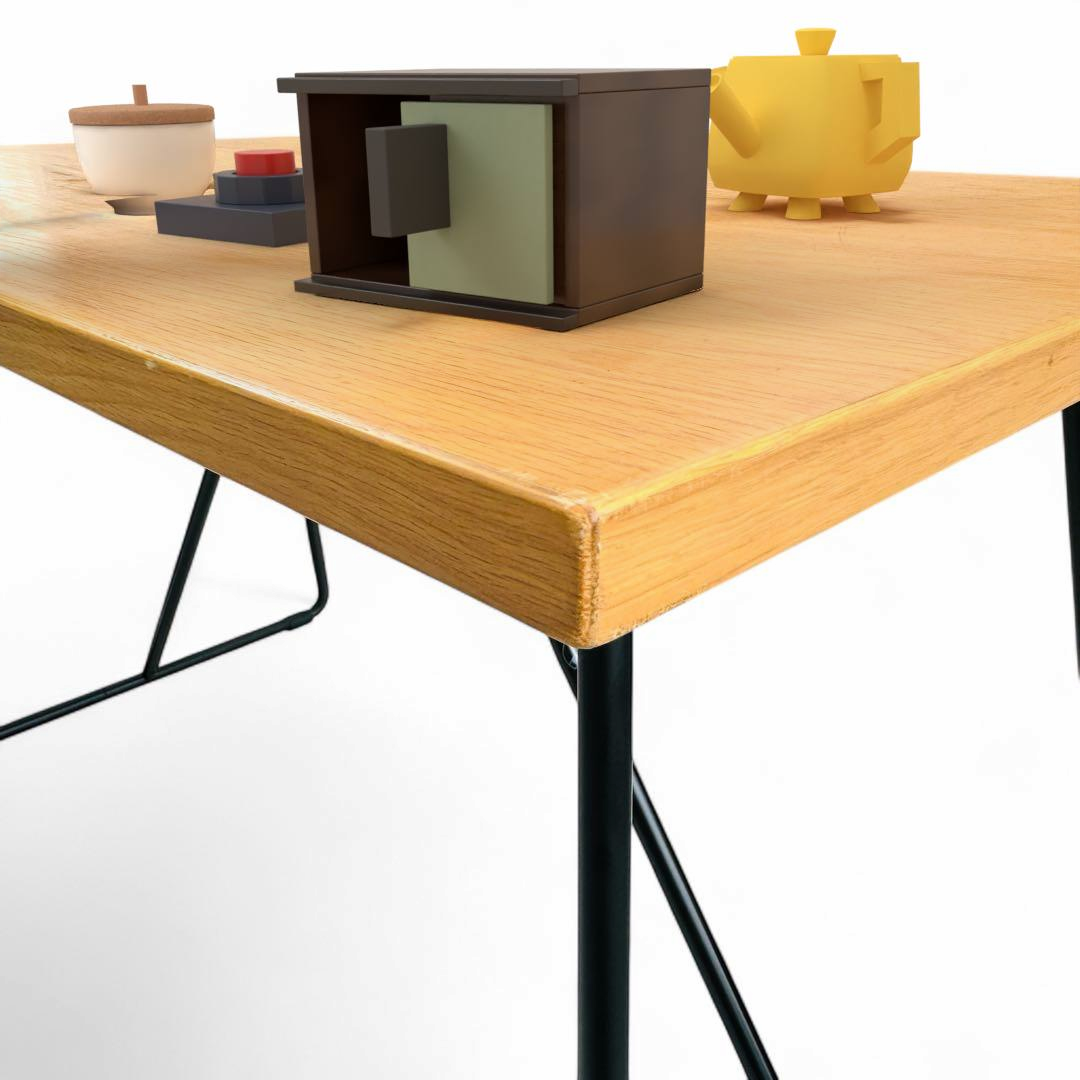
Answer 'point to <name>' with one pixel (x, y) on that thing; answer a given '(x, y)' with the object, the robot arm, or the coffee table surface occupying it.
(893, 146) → the teapot
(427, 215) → the sliding door
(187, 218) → the control block
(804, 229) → the coffee table surface
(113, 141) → the trinket box
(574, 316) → the cupboard
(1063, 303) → the coffee table surface
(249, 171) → the button
